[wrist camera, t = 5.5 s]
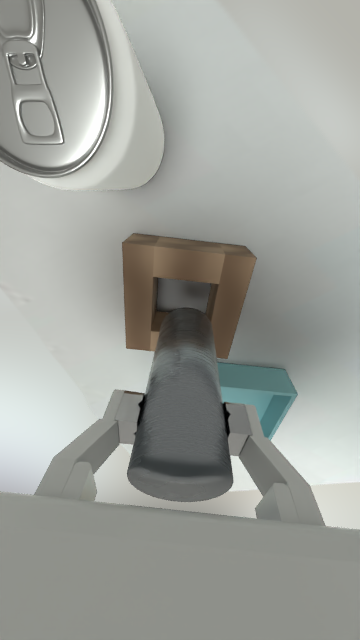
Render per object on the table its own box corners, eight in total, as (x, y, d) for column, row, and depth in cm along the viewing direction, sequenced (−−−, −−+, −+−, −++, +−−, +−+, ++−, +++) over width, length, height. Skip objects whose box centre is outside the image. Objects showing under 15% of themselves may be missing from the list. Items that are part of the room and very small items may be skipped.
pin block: (245, 246, 20) (256, 258, 17) (222, 336, 26) (227, 358, 22) (133, 233, 20) (122, 242, 17) (134, 327, 26) (126, 348, 22)
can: (164, 79, 15) (107, -161, 5) (166, 189, 18) (137, 192, 8) (71, 80, 15) (-182, -150, 5) (91, 189, 18) (-32, 191, 8)
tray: (284, 369, 28) (297, 394, 25) (256, 426, 35) (263, 452, 32) (186, 359, 28) (186, 382, 25) (177, 419, 35) (176, 444, 31)
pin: (217, 311, 16) (246, 459, 7) (207, 353, 18) (221, 505, 9) (162, 304, 16) (125, 446, 7) (159, 347, 18) (128, 496, 9)
